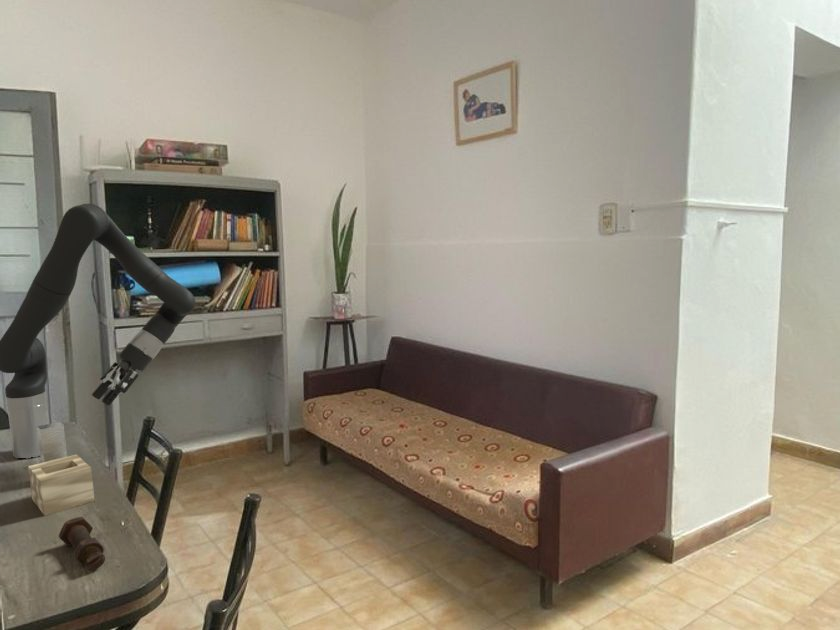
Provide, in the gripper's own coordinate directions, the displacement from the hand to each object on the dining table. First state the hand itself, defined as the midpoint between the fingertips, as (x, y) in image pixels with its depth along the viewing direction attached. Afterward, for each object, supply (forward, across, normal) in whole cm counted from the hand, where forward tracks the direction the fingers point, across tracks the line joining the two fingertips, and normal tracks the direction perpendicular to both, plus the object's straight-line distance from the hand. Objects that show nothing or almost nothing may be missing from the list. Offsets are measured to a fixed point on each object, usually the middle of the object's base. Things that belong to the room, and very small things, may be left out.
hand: (99, 400), depth 156 cm
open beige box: (+22, +15, +3) cm, 27 cm away
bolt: (+25, +46, +1) cm, 52 cm away
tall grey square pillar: (+21, 0, +4) cm, 21 cm away
